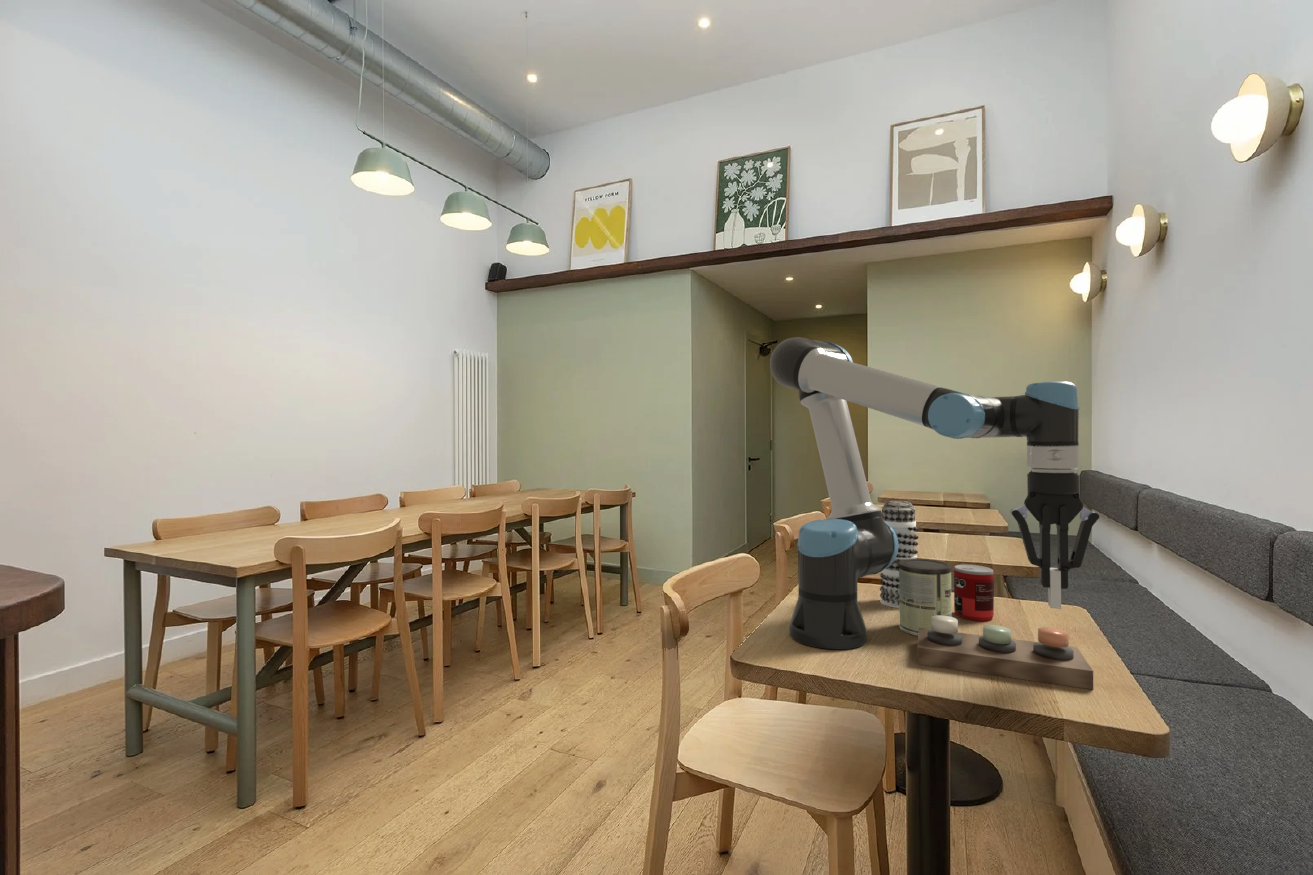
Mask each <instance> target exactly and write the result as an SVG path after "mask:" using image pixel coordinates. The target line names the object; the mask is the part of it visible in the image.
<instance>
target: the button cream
mask: <svg viewBox="0 0 1313 875" xmlns="http://www.w3.org/2000/svg"><path fill="white" fill-rule="evenodd" d="M931 624H932V630H934V631H937V632H940V633H947V634H953V633H957V632H958V633H959V630H958V629H959V620H958V619H957V618H956V617H953V616H952V617H949V616H942V615H936V616H932V617H931Z"/></svg>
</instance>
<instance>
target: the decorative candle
mask: <svg viewBox="0 0 1313 875" xmlns="http://www.w3.org/2000/svg"><path fill="white" fill-rule="evenodd" d="M880 509H881V512H882V516H883V520H884V522H886V523H887V524H888V525H889V526H891V527H892V528H893V530H894V531H895V533H896V535H897V538H898V553H897V556H896V558H895V560H894V562H893V563H892V564H891V565H890V566H889V567H888V568H886V569H884V570H883V571H881V572H880V574H879V577H880V578H881V579H880V581H879V583H880V584H881V586H880V588H879V591H880V594H879V596H880V598H881V599H880V600H879V601H880V603H882V604H881V605H884V606H886V607H889V608H894V609H900V599H899V561H901V560H906V559H918V550H916V549H915V547H917V546H919V543H918V542H917V541H916V540H918V539H919V536H918V535H917V534H915V533H916V532H918V531H919V530H920V528H919V527H917V521H916V510H917V508H915V507H914V505H913V504H912V503H911V502H910V501H904V500H888V501H886V502H885V503H884V505H883V506H881V507H880Z"/></svg>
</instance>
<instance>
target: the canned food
mask: <svg viewBox="0 0 1313 875" xmlns="http://www.w3.org/2000/svg"><path fill="white" fill-rule="evenodd" d="M994 575H995V573H994V570H993V569H992V567H991V568H990V567H987V566H984V565H983V566H982V565H978V564H977V565H975V564H956V565H954V568H953V609H954V613H955V614H954V615H956V616H957V617H959V618H962V619H965V620H969V621H973V620H974V621H975V622H989V621H992V620H993V618H994V614H995V613H994V612H995V611H994V610H995V609H994V604H995V603H994V602H995V601H994V597H995V595H994V592H995V588H994V587H995V583H994V582H995V581H994V578H995V577H994Z"/></svg>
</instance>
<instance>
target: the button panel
mask: <svg viewBox="0 0 1313 875" xmlns="http://www.w3.org/2000/svg"><path fill="white" fill-rule="evenodd" d="M916 648H917V665H921V666H929V667H930V666H931V667H937V668H942V669H951V670H958V671H962V672H963V671H964V672H970V673H978V674H982V675H983V674H985V675H990V676H991V675H992V676H997V677H1002V678H1003V677H1004V678H1011V679H1012V678H1013V679H1018V680H1023V681H1025V680H1026V681H1033V682H1039V683H1046V684H1052V685H1060V686H1066V687H1072V688H1079V689H1080V688H1081V689H1086V690H1087V689H1088V690H1094V670H1093V669H1092V667H1091V666H1090V664H1089V662H1088V661H1087V659H1086V658H1085V657H1084V656H1083V654H1082V652H1081V651H1080V650H1079V648H1078V647H1077V646H1071V645H1069V646H1068V647H1052V646H1048V645H1044V644H1042V643H1040V642H1039V641H1031V640H1022V639H1016V638H1015V639H1014V638H1011V643H1010V644H996V643H991V642H988V641H986V640H984V639H983V634H982V635H981V634H974V633H966V632H959V631H958V632H957V633H953V634H947V633H940V632H937V631H934V630H932V629H926V628H919V632H918V636H917V647H916Z"/></svg>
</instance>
